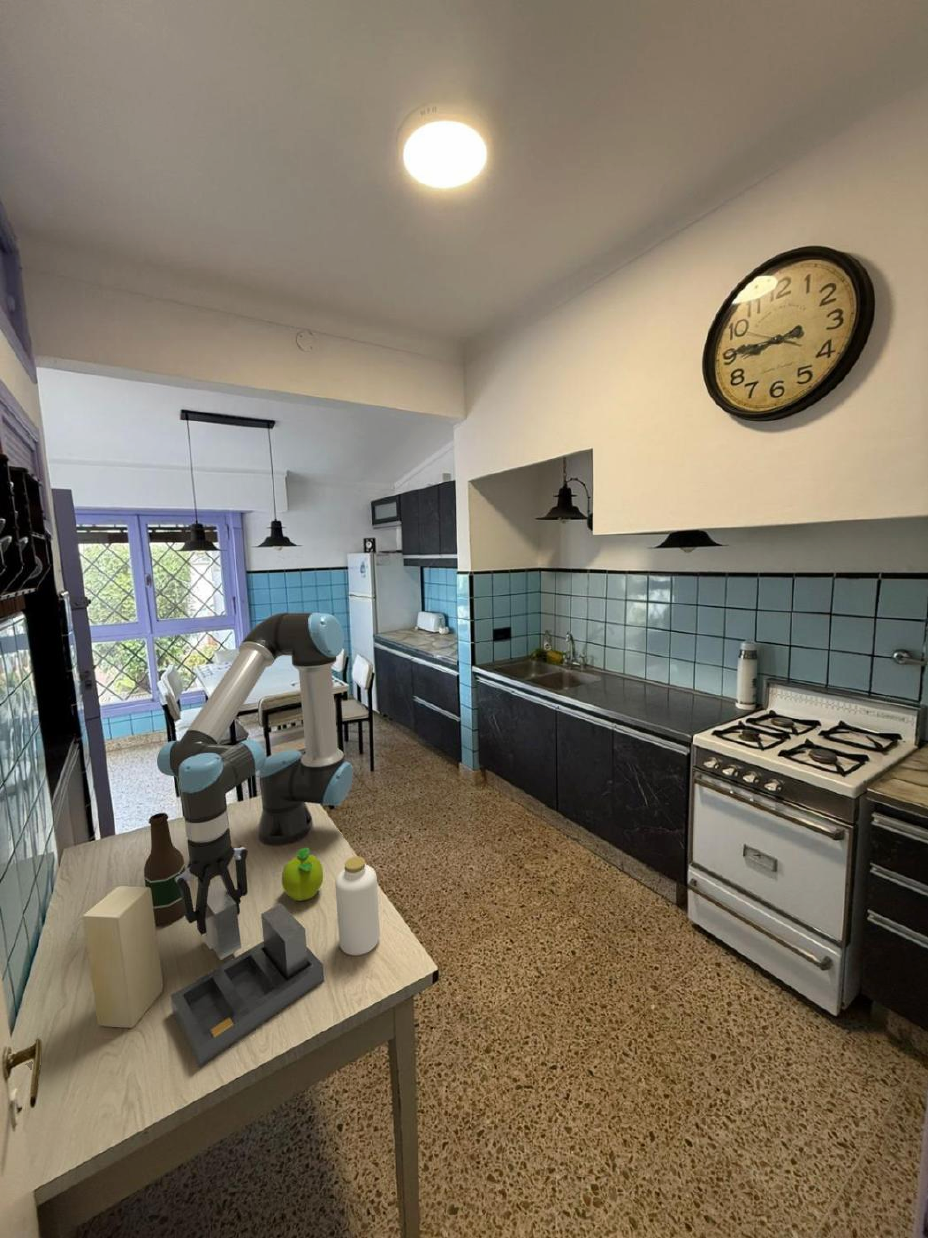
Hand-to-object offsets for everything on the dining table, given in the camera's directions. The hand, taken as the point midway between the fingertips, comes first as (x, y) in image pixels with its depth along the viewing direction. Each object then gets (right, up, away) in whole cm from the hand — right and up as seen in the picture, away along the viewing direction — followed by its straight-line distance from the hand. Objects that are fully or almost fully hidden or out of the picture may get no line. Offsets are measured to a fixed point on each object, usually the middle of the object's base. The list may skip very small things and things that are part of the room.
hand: (221, 937), depth 102 cm
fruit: (+12, -1, +16) cm, 20 cm away
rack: (+11, -4, -11) cm, 16 cm away
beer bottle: (-17, -2, +11) cm, 20 cm away
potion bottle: (+28, -2, +1) cm, 28 cm away
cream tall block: (-11, -5, -12) cm, 17 cm away
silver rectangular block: (0, -1, 0) cm, 1 cm away
